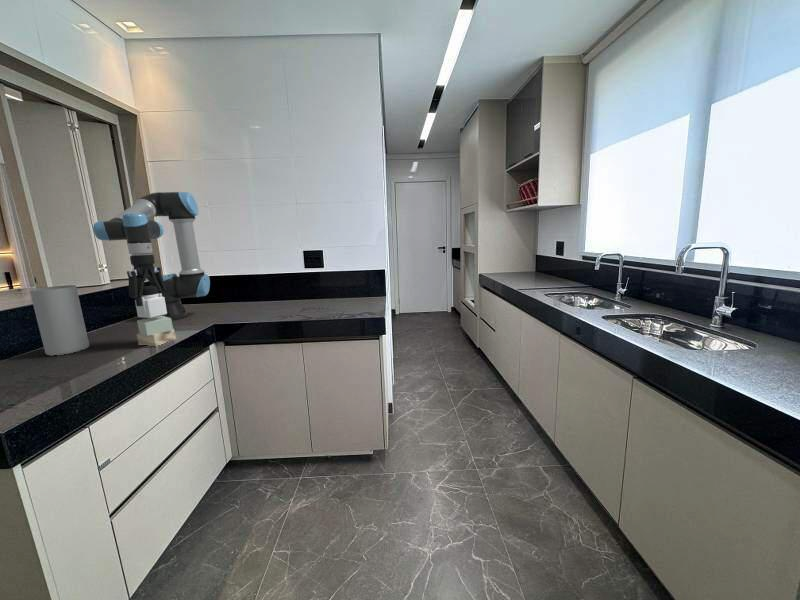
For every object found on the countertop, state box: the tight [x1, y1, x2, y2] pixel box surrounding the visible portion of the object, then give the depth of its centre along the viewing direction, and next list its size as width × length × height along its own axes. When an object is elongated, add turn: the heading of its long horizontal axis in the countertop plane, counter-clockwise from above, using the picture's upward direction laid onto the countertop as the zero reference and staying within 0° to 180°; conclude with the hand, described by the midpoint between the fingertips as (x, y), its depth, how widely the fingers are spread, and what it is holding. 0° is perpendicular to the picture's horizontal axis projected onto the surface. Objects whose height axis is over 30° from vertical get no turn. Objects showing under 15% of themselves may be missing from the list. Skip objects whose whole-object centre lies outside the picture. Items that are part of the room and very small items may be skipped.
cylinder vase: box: [29, 284, 90, 357], centre depth 132 cm, size 12×12×25 cm
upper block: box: [136, 316, 174, 336], centre depth 139 cm, size 9×9×5 cm
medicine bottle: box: [134, 285, 167, 319], centre depth 137 cm, size 7×7×12 cm
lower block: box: [136, 328, 177, 347], centre depth 140 cm, size 9×9×5 cm
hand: (152, 311), depth 138 cm, fingers closed on medicine bottle, 8 cm apart
